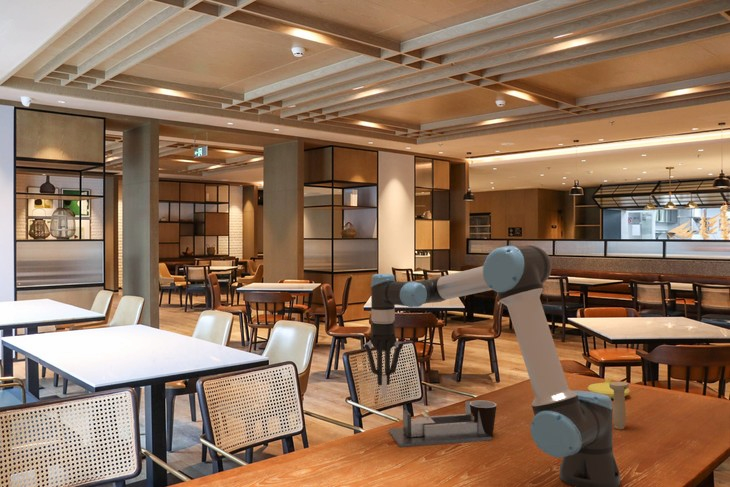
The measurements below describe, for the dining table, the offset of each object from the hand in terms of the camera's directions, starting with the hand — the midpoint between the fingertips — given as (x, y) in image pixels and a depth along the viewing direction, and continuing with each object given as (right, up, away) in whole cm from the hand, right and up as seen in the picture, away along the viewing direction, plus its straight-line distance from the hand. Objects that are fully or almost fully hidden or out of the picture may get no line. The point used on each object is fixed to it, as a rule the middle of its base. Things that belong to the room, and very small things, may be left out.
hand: (383, 394), depth 199 cm
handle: (+79, -13, +8) cm, 81 cm away
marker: (+15, -13, +10) cm, 22 cm away
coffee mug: (+33, -14, +5) cm, 36 cm away
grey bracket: (+11, -13, +4) cm, 18 cm away
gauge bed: (+18, -14, +3) cm, 23 cm away
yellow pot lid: (+92, -13, +49) cm, 105 cm away
